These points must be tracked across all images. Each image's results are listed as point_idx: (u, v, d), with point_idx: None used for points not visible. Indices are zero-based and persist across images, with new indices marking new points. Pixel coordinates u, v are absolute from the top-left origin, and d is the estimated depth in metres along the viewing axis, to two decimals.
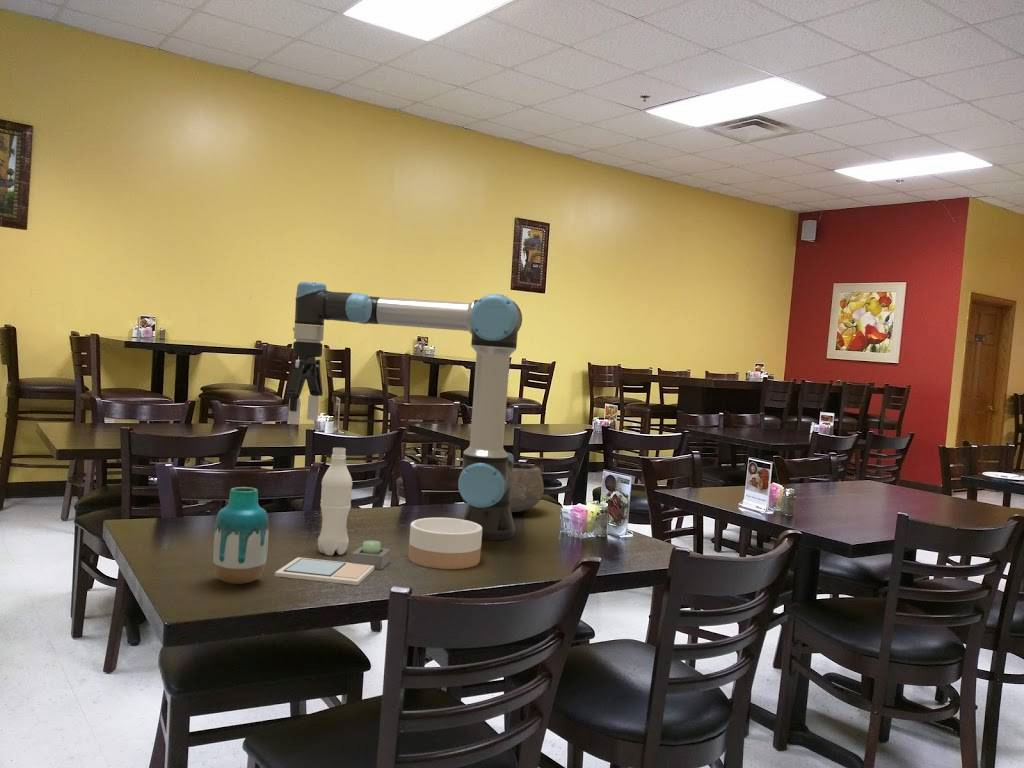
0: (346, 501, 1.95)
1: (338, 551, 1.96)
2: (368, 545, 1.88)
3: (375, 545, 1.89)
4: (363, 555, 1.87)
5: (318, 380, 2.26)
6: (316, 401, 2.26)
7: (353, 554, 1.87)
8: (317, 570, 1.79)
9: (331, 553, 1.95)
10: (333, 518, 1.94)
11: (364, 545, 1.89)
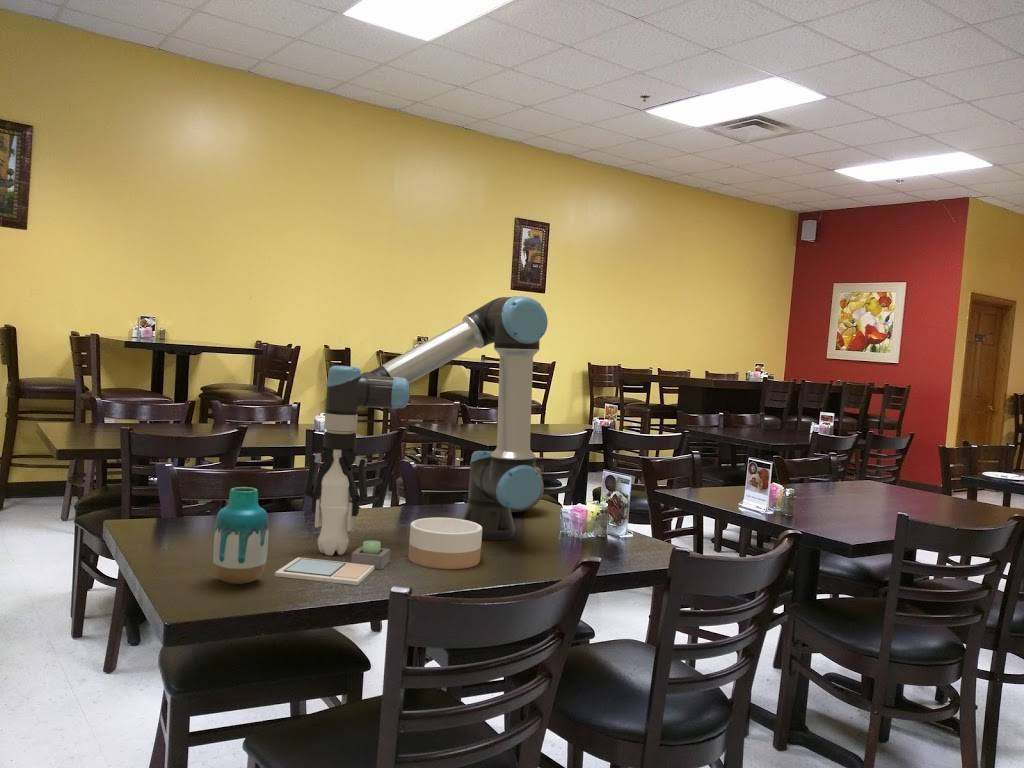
0: (346, 501, 1.95)
1: (338, 551, 1.96)
2: (368, 545, 1.88)
3: (375, 545, 1.89)
4: (363, 555, 1.87)
5: None
6: None
7: (353, 554, 1.87)
8: (317, 570, 1.79)
9: (331, 553, 1.95)
10: (333, 518, 1.94)
11: (364, 545, 1.89)
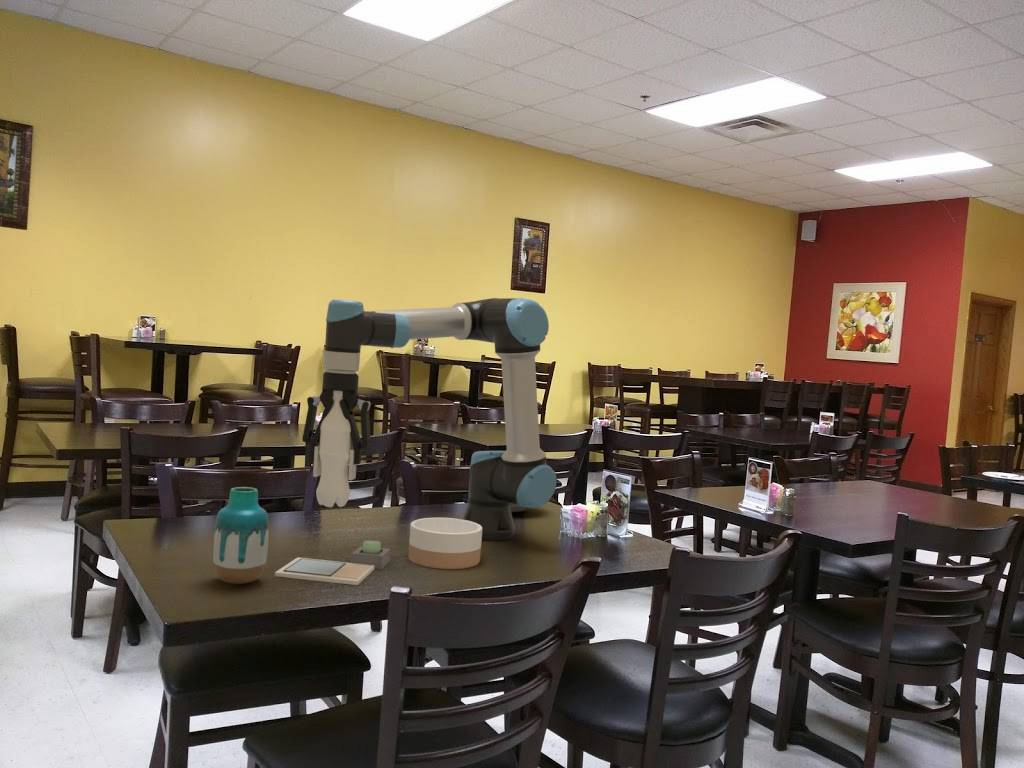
0: (347, 447, 1.78)
1: (338, 502, 1.79)
2: (368, 545, 1.88)
3: (375, 545, 1.89)
4: (363, 555, 1.87)
5: None
6: None
7: (353, 554, 1.87)
8: (317, 570, 1.79)
9: (331, 504, 1.78)
10: (333, 466, 1.77)
11: (364, 545, 1.89)
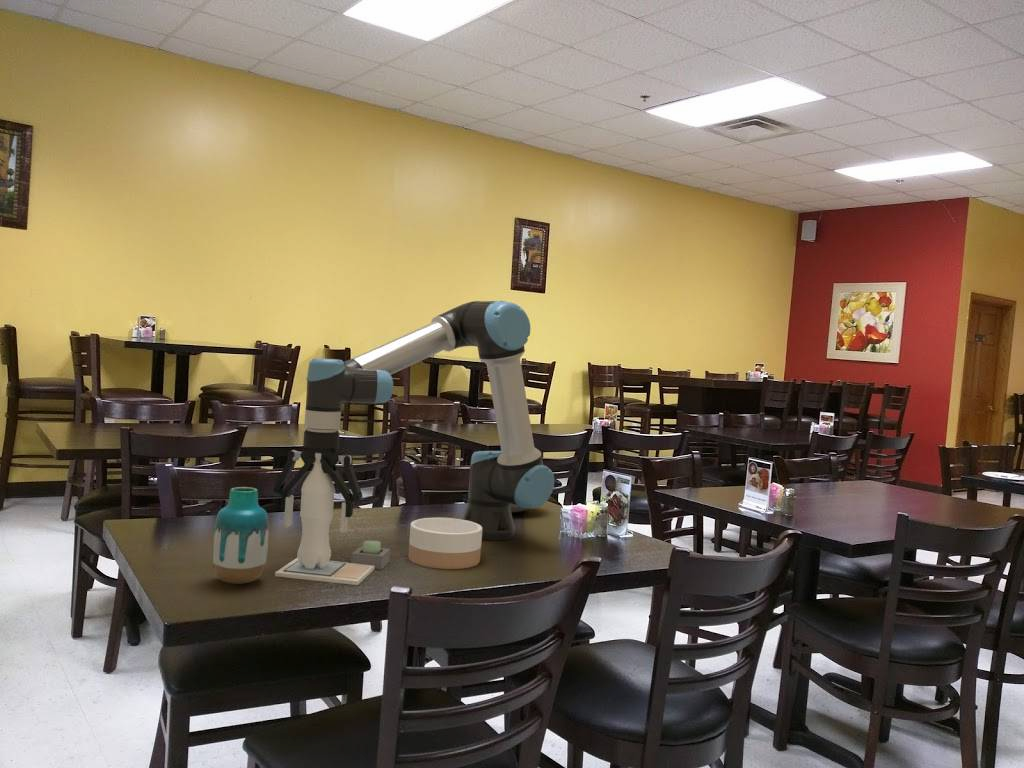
0: (328, 510, 1.79)
1: (319, 564, 1.80)
2: (368, 545, 1.88)
3: (375, 545, 1.89)
4: (363, 555, 1.87)
5: None
6: None
7: (353, 554, 1.87)
8: (317, 570, 1.79)
9: (312, 566, 1.79)
10: (314, 529, 1.78)
11: (364, 545, 1.89)
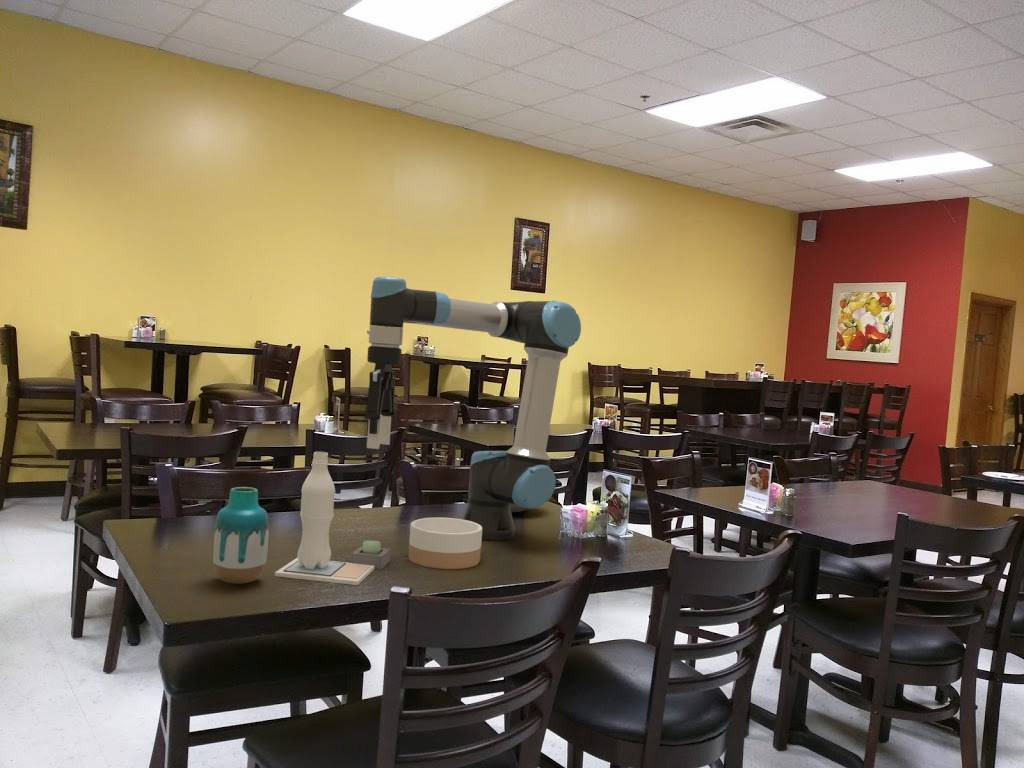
0: (328, 510, 1.79)
1: (319, 564, 1.80)
2: (368, 545, 1.88)
3: (375, 545, 1.89)
4: (363, 555, 1.87)
5: (391, 395, 1.94)
6: (388, 422, 1.93)
7: (353, 554, 1.87)
8: (317, 570, 1.79)
9: (312, 567, 1.79)
10: (314, 529, 1.78)
11: (364, 545, 1.89)
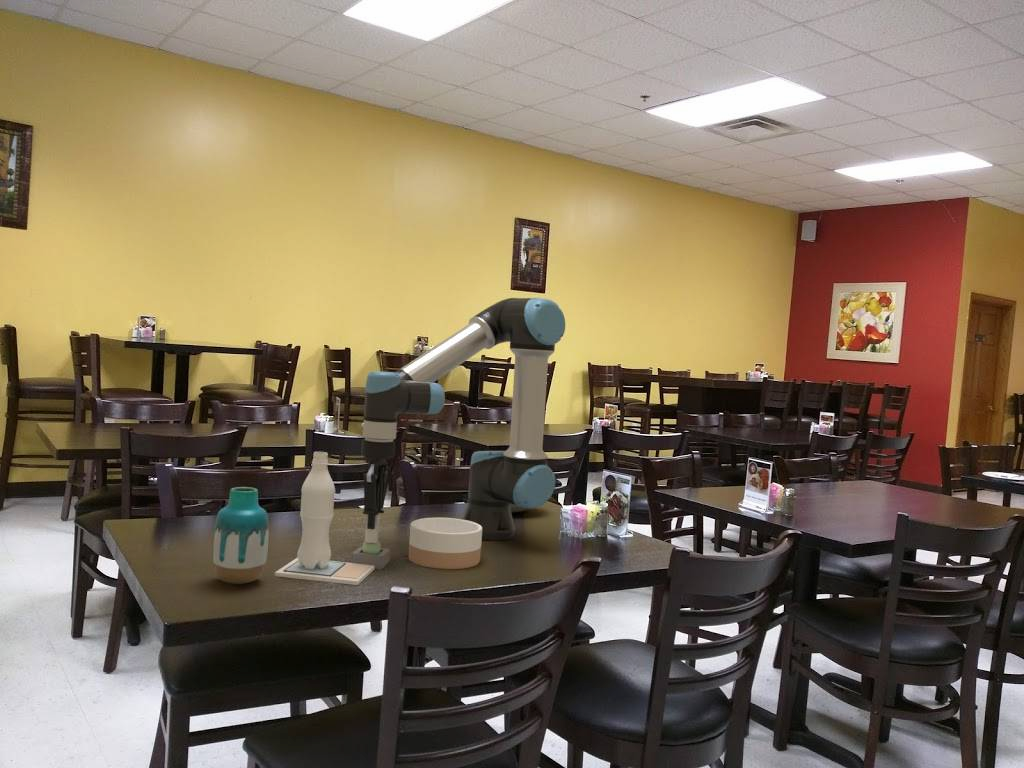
0: (328, 510, 1.79)
1: (319, 564, 1.80)
2: (368, 546, 1.88)
3: (375, 546, 1.89)
4: (363, 555, 1.87)
5: (382, 490, 1.93)
6: None
7: (353, 554, 1.87)
8: (317, 570, 1.79)
9: (312, 567, 1.79)
10: (314, 529, 1.78)
11: (364, 546, 1.89)
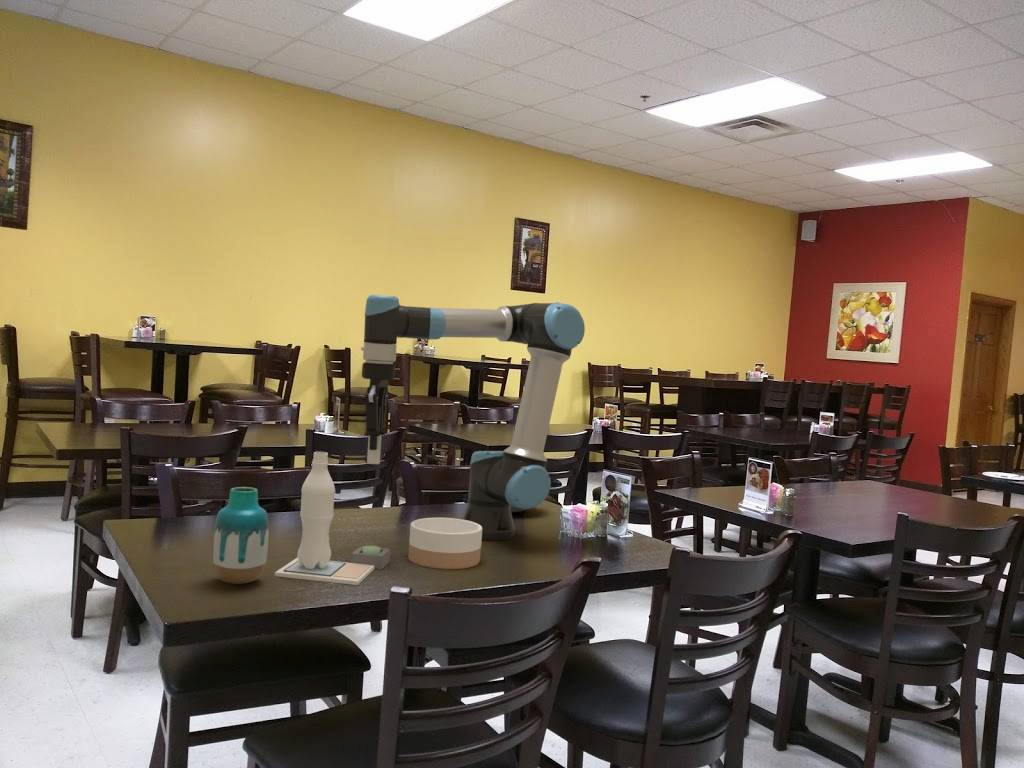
0: (328, 510, 1.79)
1: (319, 564, 1.80)
2: (368, 550, 1.88)
3: (375, 550, 1.89)
4: (363, 555, 1.87)
5: (383, 413, 1.97)
6: None
7: (353, 554, 1.87)
8: (317, 570, 1.79)
9: (312, 567, 1.79)
10: (314, 529, 1.78)
11: (364, 550, 1.89)
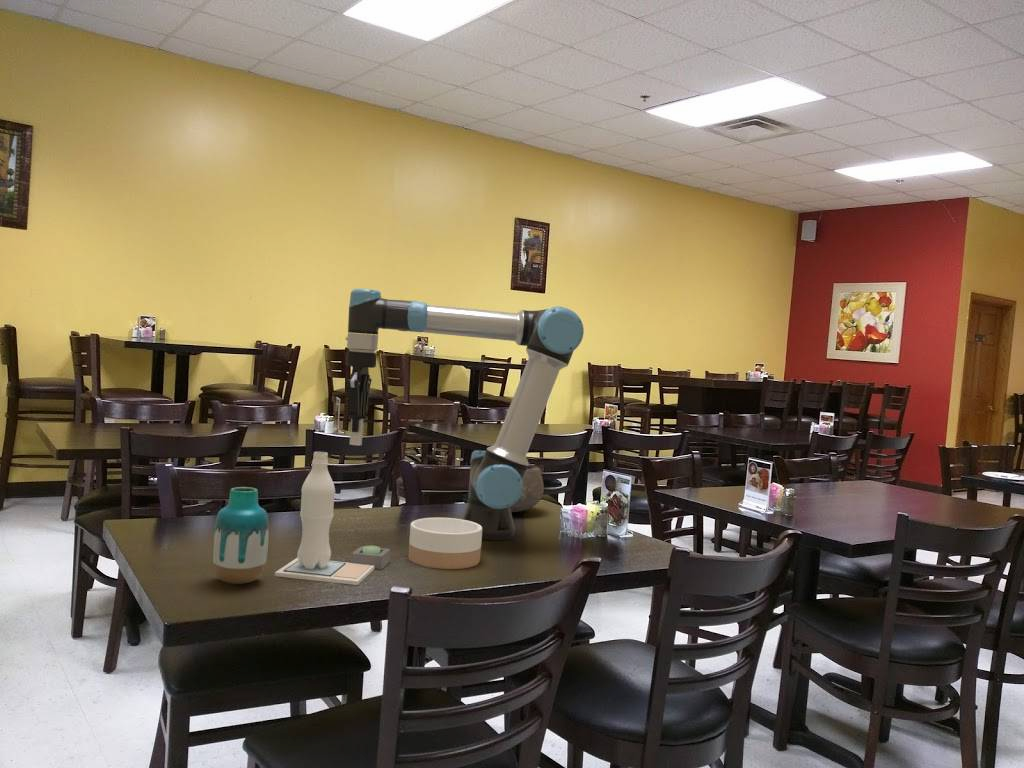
0: (328, 510, 1.79)
1: (319, 564, 1.80)
2: (368, 550, 1.88)
3: (375, 550, 1.89)
4: (363, 555, 1.87)
5: (365, 399, 2.12)
6: None
7: (353, 554, 1.87)
8: (317, 570, 1.79)
9: (312, 567, 1.79)
10: (314, 529, 1.78)
11: (364, 550, 1.89)
